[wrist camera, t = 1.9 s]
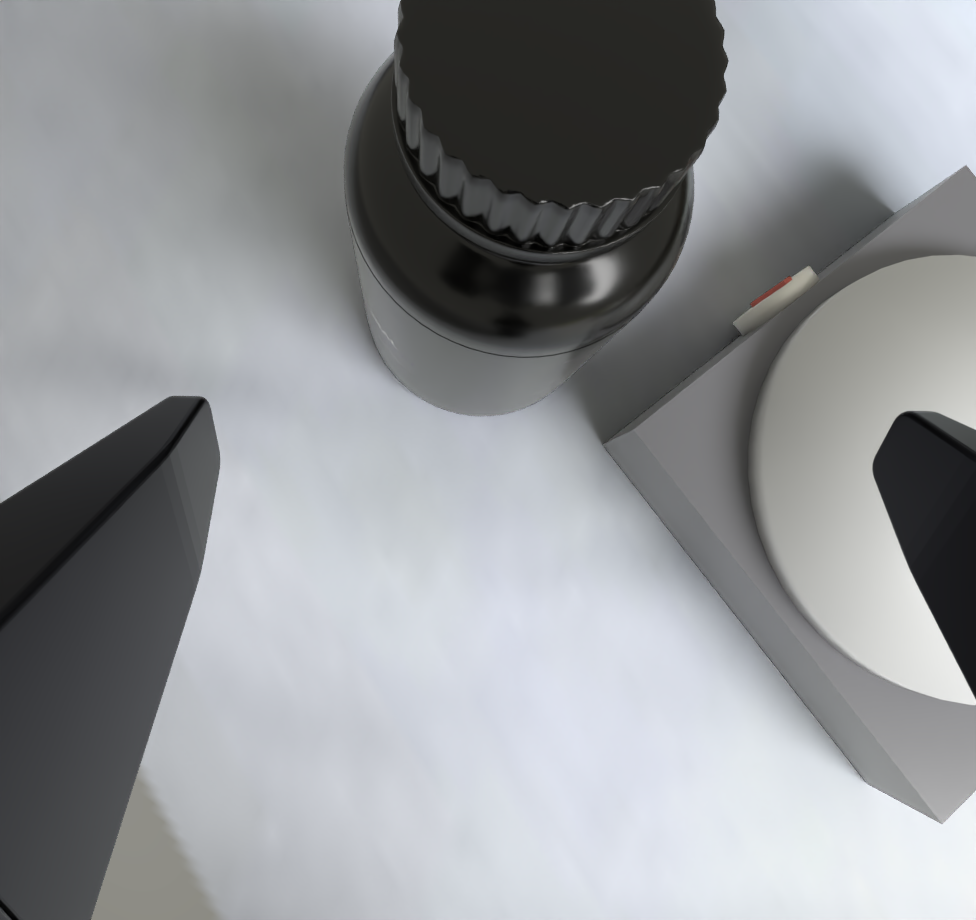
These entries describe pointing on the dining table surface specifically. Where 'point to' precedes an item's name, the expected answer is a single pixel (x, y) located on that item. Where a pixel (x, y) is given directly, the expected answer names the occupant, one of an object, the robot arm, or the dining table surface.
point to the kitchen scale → (833, 487)
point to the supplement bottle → (525, 185)
